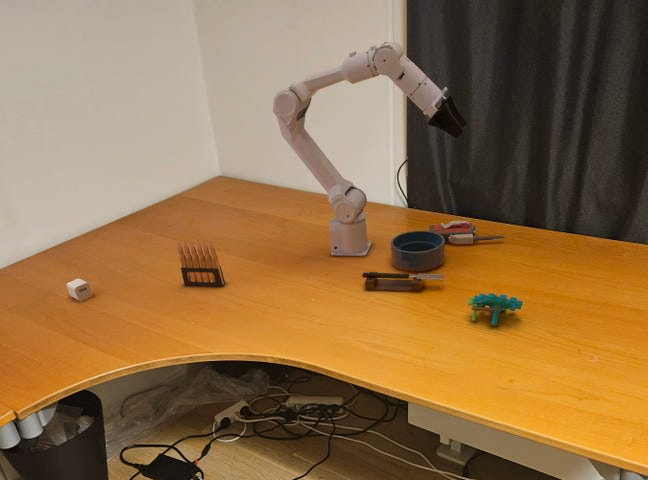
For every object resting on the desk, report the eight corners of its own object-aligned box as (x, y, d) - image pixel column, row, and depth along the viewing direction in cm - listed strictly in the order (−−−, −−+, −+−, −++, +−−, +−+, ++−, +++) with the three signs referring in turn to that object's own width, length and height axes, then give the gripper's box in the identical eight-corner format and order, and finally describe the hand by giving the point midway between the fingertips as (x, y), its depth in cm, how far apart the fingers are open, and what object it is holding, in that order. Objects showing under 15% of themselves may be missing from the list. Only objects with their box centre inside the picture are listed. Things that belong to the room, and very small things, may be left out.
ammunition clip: (225, 283, 156) (215, 239, 149) (222, 287, 154) (212, 242, 148) (187, 282, 159) (176, 239, 152) (184, 285, 157) (172, 242, 150)
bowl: (387, 272, 152) (386, 252, 149) (396, 249, 162) (395, 230, 159) (441, 274, 148) (441, 253, 145) (447, 250, 159) (447, 230, 155)
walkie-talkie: (425, 247, 161) (504, 243, 158) (425, 232, 159) (505, 227, 156) (425, 234, 168) (500, 230, 166) (424, 219, 166) (501, 214, 163)
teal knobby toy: (528, 305, 129) (516, 290, 120) (524, 333, 128) (511, 319, 120) (477, 303, 135) (462, 289, 126) (473, 329, 134) (457, 317, 125)
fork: (362, 278, 145) (361, 276, 145) (364, 274, 147) (364, 271, 147) (443, 281, 140) (443, 278, 140) (444, 276, 142) (444, 273, 142)
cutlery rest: (365, 290, 145) (364, 281, 144) (370, 280, 149) (369, 271, 148) (420, 292, 142) (420, 283, 140) (423, 282, 146) (423, 273, 144)
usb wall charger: (79, 302, 156) (73, 288, 153) (66, 295, 160) (60, 281, 157) (93, 295, 158) (88, 281, 156) (80, 288, 162) (75, 275, 160)
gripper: (425, 78, 128) (471, 123, 131) (435, 67, 140) (477, 110, 142) (403, 104, 132) (448, 148, 135) (414, 92, 144) (456, 133, 146)
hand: (462, 130), depth 139 cm, fingers open, 7 cm apart
